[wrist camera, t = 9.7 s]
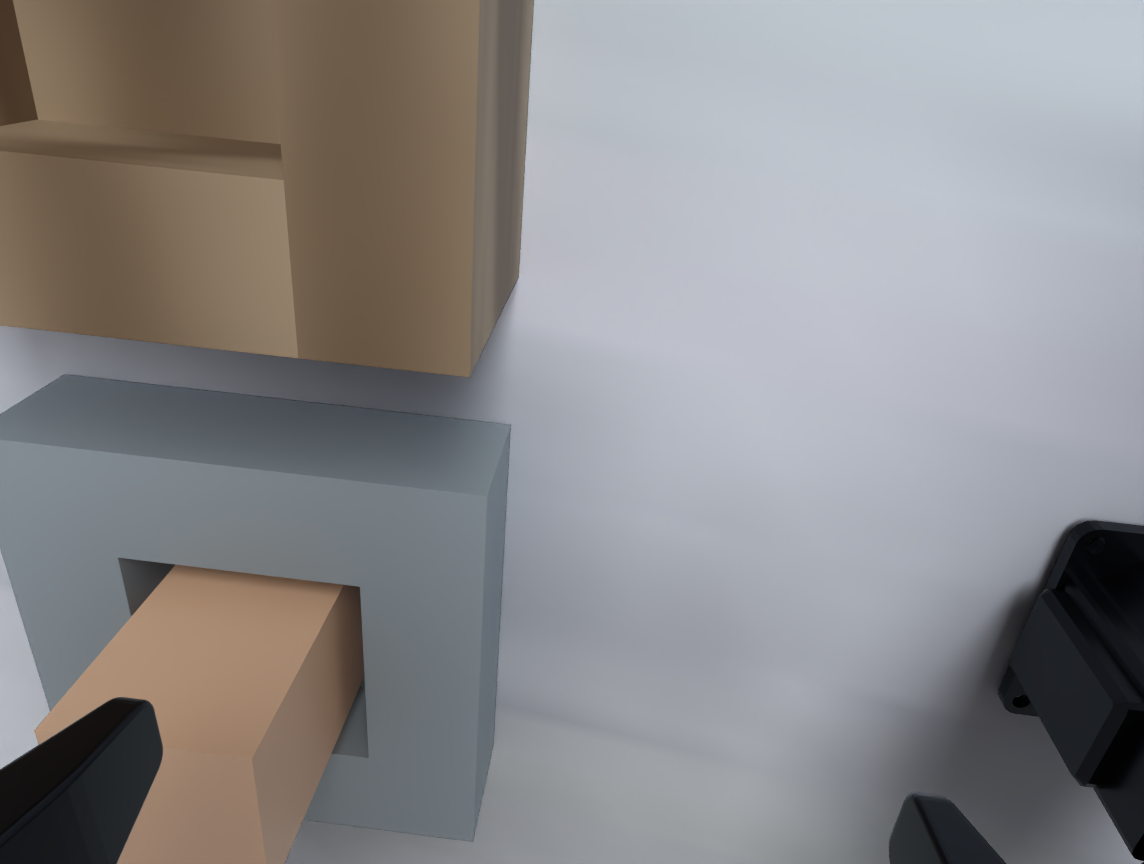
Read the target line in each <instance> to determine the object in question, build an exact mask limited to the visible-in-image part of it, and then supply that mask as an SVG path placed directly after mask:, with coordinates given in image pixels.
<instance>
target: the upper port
mask: <svg viewBox="0 0 1144 864" xmlns="http://www.w3.org/2000/svg"><path fill="white" fill-rule="evenodd" d="M533 6H534V0H0V325H3V326H12V327H21V328H30V329H39V330H48V331H57V332H66V333H75V334H84V335H93V336H102V337H111V338H120V339H129V340H138V341H147V342H156V343H165V344H174V345H183V346H192V347H201V348H210V349H219V350H228V351H237V352H246V353H255V354H264V355H273V356H282V357H291V358H300V359H309V360H318V361H327V362H336V363H345V364H354V365H363V366H372V367H381V368H390V369H399V370H408V371H417V372H426V373H435V374H444V375H453V376H462V377H470V376H471V374H472V372H473V370H474V368H475V366H476V363H477V361H478V359H479V357H480V355H481V353H482V351H483V349H484V347H485V345H486V343H487V341H488V339H489V337H490V335H491V333H492V331H493V328H494V326H495V324H496V322H497V320H498V318H499V316H500V314H501V312H502V310H503V308H504V306H505V304H506V302H507V300H508V298H509V295H510V293H511V291H512V289H513V287H514V285H515V283H516V281H517V279H518V277H519V264H520V245H521V227H522V208H523V190H524V172H525V153H526V135H527V116H528V98H529V79H530V61H531V42H532V24H533Z"/></svg>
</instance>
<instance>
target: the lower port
mask: <svg viewBox="0 0 1144 864" xmlns="http://www.w3.org/2000/svg"><path fill="white" fill-rule="evenodd" d="M510 430H511V425H507V424H498V423H489V422H480V421H471V420H462V419H454V418H445V417H436V416H427V415H418V414H409V413H401V412H392V411H383V410H374V409H365V408H356V407H347V406H339V405H330V404H321V403H312V402H303V401H294V400H285V399H277V398H268V397H259V396H250V395H241V394H232V393H223V392H215V391H206V390H197V389H188V388H179V387H170V386H161V385H153V384H144V383H135V382H126V381H117V380H108V379H99V378H91V377H82V376H73V375H63V376H61V377H59V378H58V379H56V380H55V381H53V382H51V383H50V384H48V385H46V386H45V387H43V388H42V389H40V390H38V391H37V392H35V393H34V394H32V395H30V396H29V397H27V398H26V399H24V400H22V401H21V402H19V403H17V404H16V405H14V406H13V407H11V408H9V409H8V410H6V411H5V412H3V413H1V414H0V549H1V553H2V556H3V559H4V562H5V566H6V569H7V572H8V575H9V579H10V582H11V585H12V589H13V592H14V595H15V598H16V602H17V605H18V608H19V611H20V615H21V618H22V621H23V624H24V628H25V631H26V634H27V637H28V641H29V644H30V647H31V650H32V654H33V657H34V660H35V663H36V667H37V670H38V673H39V676H40V680H41V683H42V686H43V689H44V693H45V696H46V699H47V702H48V706H49V709H50V711H51V710H52V709H53V708H54V707H55V706H56V704H57V703H58V702H59V701H60V700H61V698H62V697H63V696H64V695H65V694H66V693H67V691H68V690H69V689H70V688H71V687H72V686H73V684H74V683H75V682H76V681H77V680H78V679H79V677H80V676H81V675H82V674H83V673H84V672H85V670H86V669H87V668H88V667H89V666H90V665H91V663H92V662H93V661H94V660H95V659H96V657H97V656H98V655H99V654H100V653H101V652H102V650H103V649H104V648H105V647H106V646H107V645H108V643H109V642H110V641H111V640H112V639H113V638H114V636H115V635H116V634H117V633H118V632H119V631H120V629H121V628H122V627H123V626H124V625H125V624H126V622H127V621H128V620H129V619H130V618H131V616H132V615H133V614H134V613H135V612H136V611H137V609H138V608H139V607H140V606H141V605H142V604H143V602H144V601H145V600H146V599H147V598H148V597H149V595H150V594H151V593H152V592H153V591H154V590H155V588H156V587H157V586H158V585H159V584H160V583H161V581H162V580H163V579H164V578H165V577H166V575H167V574H168V573H169V572H170V571H171V570H172V568H173V567H174V566H175V565H184V566H192V567H200V568H209V569H217V570H225V571H234V572H242V573H250V574H259V575H267V576H275V577H283V578H292V579H300V580H308V581H317V582H325V583H333V584H342V585H350V586H358V587H360V597H361V616H362V636H363V656H364V678H363V680H362V683H361V685H360V687H359V690H358V692H357V695H356V697H355V699H354V702H353V704H352V706H351V709H350V711H349V713H348V716H347V718H346V720H345V723H344V725H343V727H342V730H341V732H340V734H339V737H338V739H337V742H336V744H335V746H334V749H333V751H332V753H331V756H330V758H329V760H328V763H327V765H326V767H325V770H324V772H323V774H322V777H321V779H320V781H319V784H318V786H317V789H316V791H315V793H314V796H313V798H312V800H311V803H310V805H309V807H308V810H307V812H306V814H305V817H304V819H303V820H309V821H317V822H325V823H332V824H340V825H348V826H355V827H363V828H371V829H378V830H386V831H394V832H401V833H409V834H417V835H424V836H432V837H439V838H447V839H455V840H462V841H470V842H473V841H474V836H475V831H476V826H477V821H478V817H479V812H480V807H481V802H482V797H483V793H484V788H485V783H486V778H487V774H488V769H489V764H490V759H491V754H492V750H493V743H494V725H495V706H496V688H497V669H498V651H499V632H500V614H501V596H502V577H503V559H504V540H505V522H506V503H507V485H508V467H509V448H510Z"/></svg>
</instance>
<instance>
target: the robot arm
mask: <svg viewBox="0 0 1144 864" xmlns="http://www.w3.org/2000/svg"><path fill="white" fill-rule="evenodd" d="M1098 537H1099V538H1098ZM1093 538H1098V539H1097V540H1096V542H1094V543H1092V544H1087V542H1088V541H1089V540H1091V539H1093ZM1086 544H1087V545H1086ZM1009 663H1010V665H1009V667H1008V670H1007V672H1006V674H1005V676H1004V678H1003V681H1002V683H1001V685H1000V687H999V690H998V695H999V698H1000V700H1001V702H1002V703H1003V705H1004V707H1005V709H1006V710H1008V711H1009V712H1011V713H1015V714H1022V715H1030V716H1038V717H1040V719H1041V721H1042V723H1043V725H1044V726H1045V728H1046V730H1047V732H1048V733H1049V735H1050V737H1051V739H1052V741H1053V742H1054V744H1055V746H1056V748H1057V750H1058V751H1059V753H1060V755H1061V757H1062V759H1063V760H1064V762H1065V764H1066V766H1067V767H1068V769H1069V771H1070V773H1071V775H1072V776H1073V777H1074V778H1075V780H1076V781H1077V782H1078V783H1079V784H1080V786H1086V787H1093V788H1094V790H1095V792H1096V794H1097V795H1098V797H1099V799H1100V801H1101V802H1102V804H1103V806H1104V807H1105V809H1106V811H1107V813H1108V814H1109V816H1110V818H1111V820H1112V821H1113V823H1114V825H1115V826H1116V828H1117V830H1118V832H1119V833H1120V835H1121V837H1122V839H1123V840H1124V842H1125V844H1126V846H1127V847H1128V849H1129V851H1130V852H1131V854H1132V856H1133V857H1134V858H1135V859H1138V860H1141V861H1144V526H1138V525H1130V524H1121V523H1112V522H1103V521H1087V522H1084V523H1081V524H1079V525H1077V526H1076V527H1075V528H1073V530H1072V531H1071V532H1070V534H1069V536H1068V538H1067V540H1066V542H1065V544H1064V546H1063V549H1062V551H1061V553H1060V555H1059V557H1058V560H1057V562H1056V564H1055V566H1054V568H1053V571H1052V573H1051V575H1050V577H1049V579H1048V582H1047V584H1046V586H1045V588H1044V590H1043V592H1042V593H1041V594H1040V595H1039V596H1038V598H1037V600H1036V602H1035V605H1034V607H1033V609H1032V611H1031V613H1030V616H1029V618H1028V620H1027V622H1026V625H1025V627H1024V629H1023V631H1022V633H1021V636H1020V638H1019V640H1018V642H1017V644H1016V647H1015V649H1014V651H1013V653H1012V655H1011V658H1010V660H1009ZM1019 695H1021V696H1019ZM1017 696H1019V697H1017ZM162 756H163V744H162V740H161V736H160V731H159V727H158V723H157V719H156V715H155V710H154V707H153V705H152V704H151V703H150V702H149V701H147V700H144V699H136V698H127V697H116V698H113V699H111V700H109V701H107V702H105V703H104V704H102V705H101V706H99V707H97V708H96V709H94V710H93V711H91V712H90V713H88V714H86V715H85V716H83V717H82V718H80V719H79V720H77V721H75V722H74V723H72V724H71V725H69V726H68V727H66V728H64V729H63V730H61V731H60V732H58V733H57V734H55V735H53V736H52V737H50V738H49V739H47V740H46V741H44V742H42V743H41V744H39V745H38V746H36V747H35V748H33V749H31V750H30V751H28V752H27V753H25V754H24V755H22V756H20V757H19V758H17V759H16V760H14V761H13V762H11V763H9V764H8V765H6V766H5V767H3V768H2V769H0V864H117V862H118V860H119V858H120V856H121V853H122V851H123V849H124V847H125V844H126V842H127V840H128V838H129V835H130V833H131V831H132V829H133V826H134V824H135V822H136V820H137V817H138V815H139V813H140V811H141V808H142V806H143V804H144V802H145V799H146V797H147V795H148V793H149V790H150V788H151V786H152V784H153V781H154V779H155V777H156V775H157V772H158V770H159V767H160V765H161V761H162ZM889 860H890V864H1006V863H1005V862H1004V861H1003V859H1002V858H1001V857H1000V856H999V855H998V854H997V853H996V852H995V850H994V849H993V848H992V847H991V846H990V845H989V844H988V842H987V841H986V840H985V839H984V838H983V837H982V836H981V835H980V833H979V832H978V831H977V830H976V829H975V828H974V827H973V825H972V824H971V823H970V822H969V821H968V820H967V819H966V818H965V816H964V815H963V814H962V813H961V812H960V811H959V810H958V808H957V807H956V806H955V805H954V804H953V803H952V802H951V801H950V800H948V799H947V798H946V797H944V796H940V795H933V794H924V793H916V792H915V793H910V794H909V795H908V796H907V797H906V799H905V800H904V803H903V805H902V808H901V810H900V813H899V816H898V818H897V821H896V823H895V826H894V828H893V831H892V833H891V836H890V841H889ZM1142 864H1144V862H1143V863H1142Z"/></svg>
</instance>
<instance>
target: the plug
mask: <svg viewBox="0 0 1144 864" xmlns="http://www.w3.org/2000/svg"><path fill="white" fill-rule="evenodd" d="M363 678H364V656H363V636H362V616H361V597H360V587H358V586H350V585H342V584H333V583H325V582H317V581H308V580H300V579H292V578H283V577H275V576H267V575H259V574H250V573H242V572H234V571H225V570H217V569H209V568H200V567H192V566H184V565H175V566H174V567H173V568H172V570H171V571H170V572H169V573H168V574H167V575H166V577H165V578H164V579H163V580H162V581H161V583H160V584H159V585H158V586H157V587H156V588H155V590H154V591H153V592H152V593H151V594H150V595H149V597H148V598H147V599H146V600H145V601H144V602H143V604H142V605H141V606H140V607H139V608H138V609H137V611H136V612H135V613H134V614H133V615H132V616H131V618H130V619H129V620H128V621H127V622H126V624H125V625H124V626H123V627H122V628H121V629H120V631H119V632H118V633H117V634H116V635H115V636H114V638H113V639H112V640H111V641H110V642H109V643H108V645H107V646H106V647H105V648H104V649H103V650H102V652H101V653H100V654H99V655H98V656H97V657H96V659H95V660H94V661H93V662H92V663H91V665H90V666H89V667H88V668H87V669H86V670H85V672H84V673H83V674H82V675H81V676H80V677H79V679H78V680H77V681H76V682H75V683H74V684H73V686H72V687H71V688H70V689H69V690H68V691H67V693H66V694H65V695H64V696H63V697H62V698H61V700H60V701H59V702H58V703H57V704H56V706H55V707H54V708H53V709H52V710H51V711H50V713H49V714H48V715H47V716H46V717H45V718H44V720H43V721H42V722H41V723H40V724H39V725H38V727H37V728H36V729H35V730H34V731H35V734H36V737H37V740H38V743H39V744H41V743H42V742H44V741H46V740H47V739H49V738H50V737H52V736H53V735H55V734H57V733H58V732H60V731H61V730H63V729H64V728H66V727H68V726H69V725H71V724H72V723H74V722H75V721H77V720H79V719H80V718H82V717H83V716H85V715H86V714H88V713H90V712H91V711H93V710H94V709H96V708H97V707H99V706H101V705H102V704H104V703H105V702H107V701H109V700H111V699H113V698H116V697H127V698H136V699H144V700H147V701H149V702H150V703H151V704H152V705H153V707H154V710H155V715H156V719H157V723H158V727H159V731H160V736H161V740H162V744H163V756H162V761H161V765H160V767H159V770H158V772H157V775H156V777H155V779H154V781H153V784H152V786H151V788H150V790H149V793H148V795H147V797H146V799H145V802H144V804H143V806H142V808H141V811H140V813H139V815H138V817H137V820H136V822H135V824H134V826H133V829H132V831H131V833H130V835H129V838H128V840H127V842H126V844H125V847H124V849H123V851H122V853H121V856H120V858H119V860H118V862H117V864H285V861H286V859H287V857H288V854H289V852H290V850H291V847H292V845H293V843H294V840H295V838H296V836H297V833H298V831H299V828H300V826H301V824H302V821H303V819H304V817H305V814H306V812H307V810H308V807H309V805H310V803H311V800H312V798H313V796H314V793H315V791H316V789H317V786H318V784H319V781H320V779H321V777H322V774H323V772H324V770H325V767H326V765H327V763H328V760H329V758H330V756H331V753H332V751H333V749H334V746H335V744H336V742H337V739H338V737H339V734H340V732H341V730H342V727H343V725H344V723H345V720H346V718H347V716H348V713H349V711H350V709H351V706H352V704H353V702H354V699H355V697H356V695H357V692H358V690H359V687H360V685H361V683H362V680H363Z"/></svg>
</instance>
